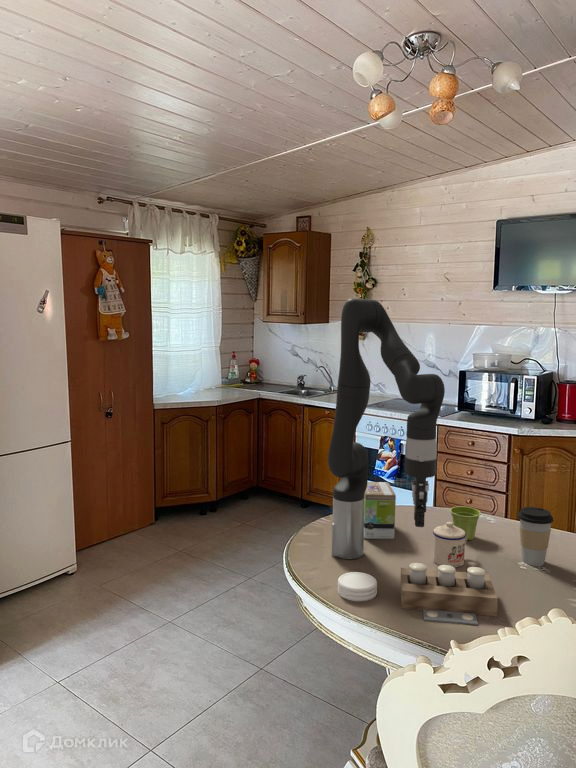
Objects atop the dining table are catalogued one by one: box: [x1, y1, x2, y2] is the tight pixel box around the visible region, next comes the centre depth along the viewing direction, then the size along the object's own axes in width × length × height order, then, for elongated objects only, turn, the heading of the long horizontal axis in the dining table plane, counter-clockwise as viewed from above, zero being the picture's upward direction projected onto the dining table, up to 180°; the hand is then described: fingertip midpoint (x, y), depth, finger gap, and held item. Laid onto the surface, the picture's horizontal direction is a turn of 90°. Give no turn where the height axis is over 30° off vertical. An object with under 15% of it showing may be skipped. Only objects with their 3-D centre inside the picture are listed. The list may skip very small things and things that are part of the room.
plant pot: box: [449, 505, 482, 541], centre depth 180 cm, size 9×9×9 cm
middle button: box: [437, 565, 457, 587], centre depth 140 cm, size 4×4×4 cm
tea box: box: [364, 481, 397, 540], centre depth 186 cm, size 15×10×15 cm
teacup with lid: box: [432, 521, 468, 569], centre depth 163 cm, size 12×9×12 cm
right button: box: [467, 566, 486, 589], centre depth 139 cm, size 4×4×4 cm
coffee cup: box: [517, 506, 554, 567], centre depth 162 cm, size 9×9×15 cm
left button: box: [408, 562, 428, 585], centre depth 141 cm, size 4×4×4 cm
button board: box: [399, 567, 499, 617], centre depth 140 cm, size 22×13×4 cm, turn 80°
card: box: [422, 609, 479, 626], centre depth 132 cm, size 12×4×1 cm, turn 80°
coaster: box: [337, 571, 378, 602], centre depth 144 cm, size 10×10×4 cm
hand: (419, 523), depth 140 cm, fingers open, 3 cm apart
